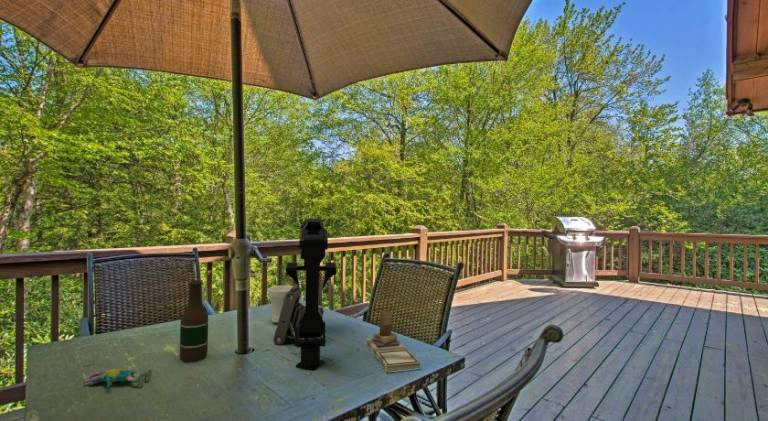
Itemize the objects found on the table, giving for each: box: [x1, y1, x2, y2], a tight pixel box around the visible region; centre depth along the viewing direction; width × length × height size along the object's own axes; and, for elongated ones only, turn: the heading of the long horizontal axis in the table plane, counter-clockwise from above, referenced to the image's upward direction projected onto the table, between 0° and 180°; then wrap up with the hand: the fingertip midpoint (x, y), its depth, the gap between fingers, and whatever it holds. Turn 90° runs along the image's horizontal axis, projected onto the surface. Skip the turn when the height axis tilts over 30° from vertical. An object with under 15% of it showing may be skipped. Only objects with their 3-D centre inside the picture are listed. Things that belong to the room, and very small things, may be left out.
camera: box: [272, 283, 325, 346], centre depth 134 cm, size 11×17×20 cm, turn 89°
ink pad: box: [371, 337, 399, 348], centre depth 128 cm, size 8×8×1 cm
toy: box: [82, 368, 153, 389], centre depth 99 cm, size 11×5×15 cm
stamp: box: [373, 309, 398, 345], centre depth 128 cm, size 6×6×10 cm
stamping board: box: [365, 337, 421, 372], centre depth 122 cm, size 24×10×2 cm, turn 17°
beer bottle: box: [179, 279, 209, 363], centre depth 117 cm, size 8×8×24 cm
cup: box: [267, 285, 294, 325], centre depth 154 cm, size 11×11×14 cm
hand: (310, 288), depth 145 cm, fingers open, 9 cm apart
